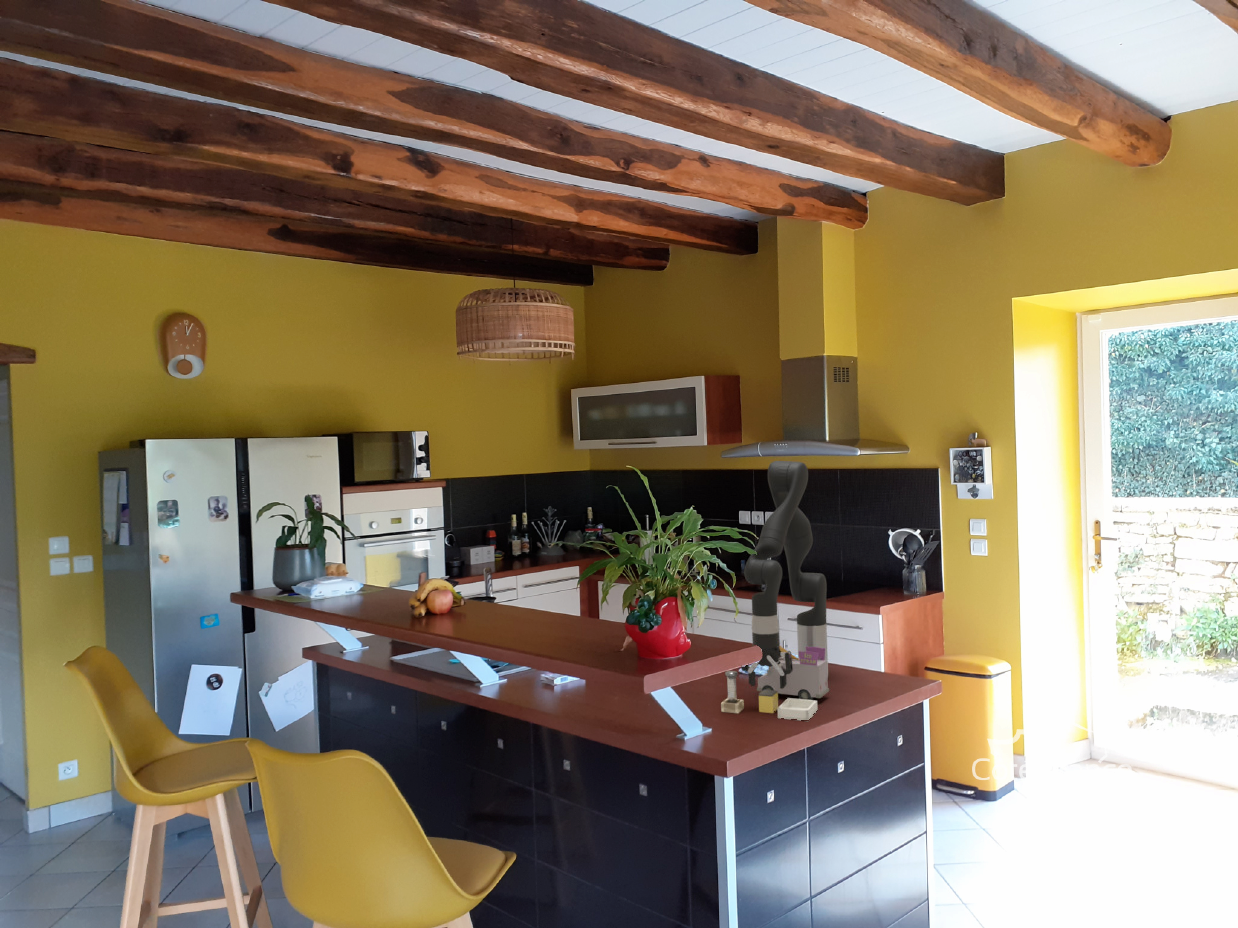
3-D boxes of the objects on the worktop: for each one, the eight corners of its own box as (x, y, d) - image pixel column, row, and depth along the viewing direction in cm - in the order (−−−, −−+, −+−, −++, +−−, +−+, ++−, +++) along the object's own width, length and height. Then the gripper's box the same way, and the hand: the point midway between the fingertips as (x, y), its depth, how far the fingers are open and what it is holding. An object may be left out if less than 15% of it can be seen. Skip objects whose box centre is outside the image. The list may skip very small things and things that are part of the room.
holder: (727, 706, 267) (726, 698, 267) (743, 708, 265) (743, 699, 265) (721, 711, 262) (721, 702, 262) (738, 713, 260) (737, 704, 260)
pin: (729, 707, 266) (727, 670, 266) (740, 708, 264) (738, 671, 264) (724, 711, 263) (723, 673, 262) (736, 712, 261) (735, 674, 261)
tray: (788, 707, 264) (787, 697, 264) (817, 710, 260) (817, 700, 260) (777, 718, 254) (777, 707, 254) (808, 721, 251) (807, 710, 251)
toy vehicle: (767, 689, 283) (766, 641, 283) (830, 696, 273) (828, 646, 273) (756, 697, 275) (754, 647, 275) (819, 705, 265) (818, 653, 265)
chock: (764, 707, 266) (764, 689, 265) (778, 708, 264) (777, 690, 264) (759, 711, 261) (758, 694, 261) (773, 713, 259) (772, 695, 259)
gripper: (793, 628, 262) (796, 685, 263) (745, 625, 269) (747, 681, 269) (786, 634, 256) (788, 692, 256) (737, 631, 262) (739, 688, 263)
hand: (767, 686), depth 263 cm, fingers open, 8 cm apart
